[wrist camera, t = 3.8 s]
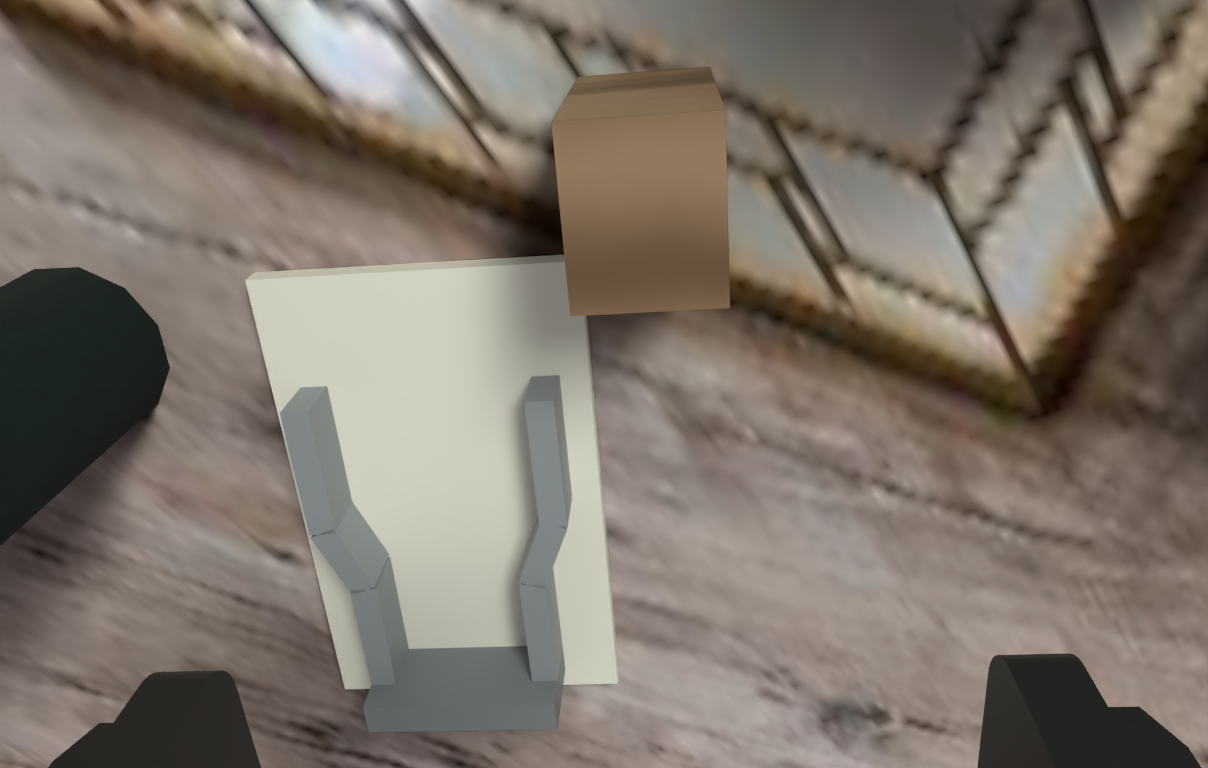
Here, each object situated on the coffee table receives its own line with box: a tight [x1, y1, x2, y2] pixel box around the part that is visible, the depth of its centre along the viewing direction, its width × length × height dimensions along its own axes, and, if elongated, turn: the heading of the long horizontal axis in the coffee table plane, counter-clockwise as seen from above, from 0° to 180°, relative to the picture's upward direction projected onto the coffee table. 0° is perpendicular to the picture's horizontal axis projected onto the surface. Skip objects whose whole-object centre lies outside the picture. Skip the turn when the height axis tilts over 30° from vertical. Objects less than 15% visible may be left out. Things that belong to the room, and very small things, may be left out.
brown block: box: [551, 67, 730, 316], centre depth 33 cm, size 6×5×10 cm
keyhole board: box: [245, 255, 619, 732], centre depth 43 cm, size 22×14×5 cm, turn 4°
